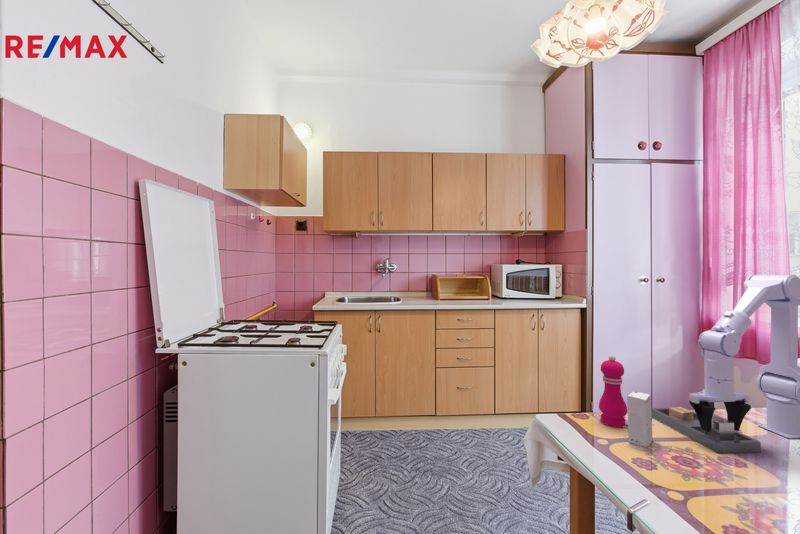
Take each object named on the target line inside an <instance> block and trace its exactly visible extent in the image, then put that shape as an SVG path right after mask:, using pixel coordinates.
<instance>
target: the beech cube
mask: <svg viewBox="0 0 800 534" xmlns="http://www.w3.org/2000/svg"><path fill="white" fill-rule="evenodd" d="M668 408H669V416H670V417H672V418H674V419H676V420H677V421H680V420H693V412H694V411H693V410H691V409H689V410H687V409H688V408H687V409H684V408H685V407H681V406H672V407H668ZM690 410H691V411H690ZM692 411H693V412H692Z"/></svg>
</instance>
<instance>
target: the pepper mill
mask: <svg viewBox="0 0 800 534" xmlns="http://www.w3.org/2000/svg"><path fill="white" fill-rule="evenodd" d="M616 359H617V357H616V356H615V355H612V354H611V355H609V356H608V359H607V360H605V361H604V360H603V362H602V363H601V364H600V371H601V373H602V374H603V375H602V381H603V382H604V383H603V384H604V390H603V393H602V395H601V397H600V399H599V402H598V409H599V411H600V412H601V415H600V421H601V423H602V424H604V425H606V426H609V427H613V428H624V427H625V426H627V425H626V421H627V420H626V418H625V416H626V415H628V405H627V404H626V402H625V401H626V400H625V399H624V398H623V395H622V391H621V388H622V386H621V385H622V384H623V378H622V377H623V376H624V375H625V368H624V366H623V364H622V363H621V362H619V361H617V360H616Z"/></svg>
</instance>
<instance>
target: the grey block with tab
mask: <svg viewBox="0 0 800 534" xmlns="http://www.w3.org/2000/svg"><path fill="white" fill-rule="evenodd" d="M705 435H707V436H709V437H711V438H713V439H715V440H717V441H734V423H733V422H731V421H729V420H728V419H727V418H724V417H722V416H719V415H717V414H715V413H713V416H712V428H711V432H707V431H705Z"/></svg>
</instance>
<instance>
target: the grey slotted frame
mask: <svg viewBox="0 0 800 534" xmlns="http://www.w3.org/2000/svg"><path fill="white" fill-rule="evenodd" d="M669 408H670V407H654V408H653V407H651V416H652V419H653V420H655V421H658V422H660V423H662V424H664V425H665V426H667V427H669V428H671V429H673V430H674V431H676V432H678V433H679V434H682V435H683V436H685V437H687V438H689V439H691V440H693V441H695V443H699V444H700V445H702V446H704V447H706V448H708V449H709V450H711V451H713V452H715V453H717V454H737V453H738V454H743V453H744V454H745V453H762V447H761V446H762V443H761V441H759V440H757V439H754V438H753V437H750V436H748V435H747V434H744V433H742V432H740V431H735V430H734V441H717V440H715V439H713V438H711V437H709V436H707V435H705V430H703V429H701V426H700V423H699V420H698V417H697V414H696V412H695V411H694V410H691V409H689V408H687V407H683V408H684V409H687V410H690V411H692V412H693V420H680V421H677V420H676V419H674V418H672V417H670V416H669Z"/></svg>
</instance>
